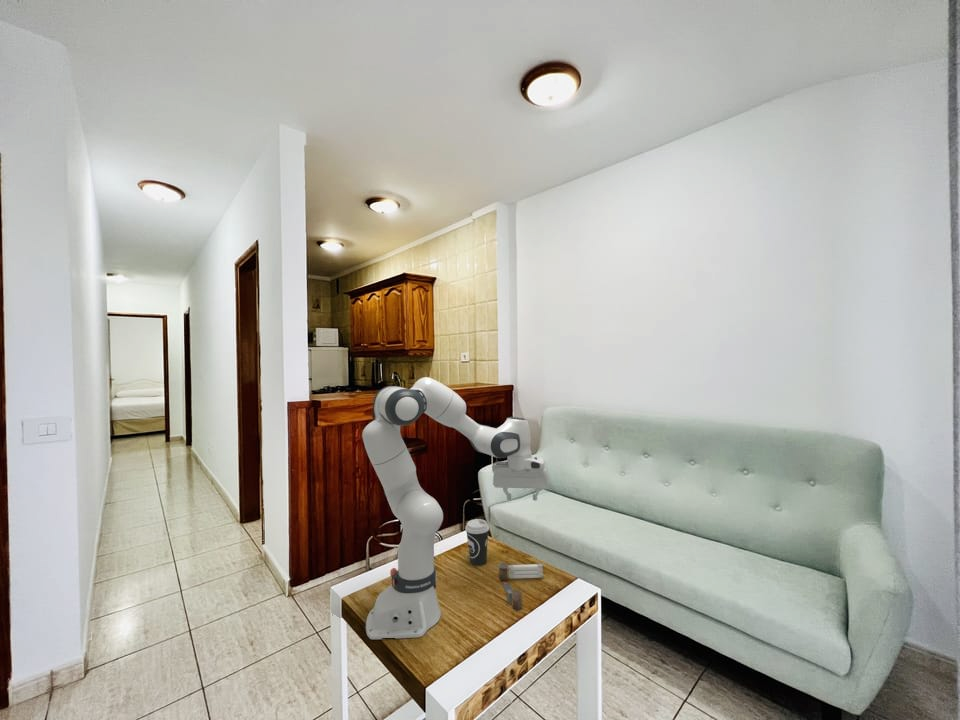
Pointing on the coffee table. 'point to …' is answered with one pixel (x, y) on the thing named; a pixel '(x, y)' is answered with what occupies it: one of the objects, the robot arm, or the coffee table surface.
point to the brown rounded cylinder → (515, 599)
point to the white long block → (526, 571)
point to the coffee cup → (477, 541)
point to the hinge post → (503, 572)
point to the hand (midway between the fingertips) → (522, 499)
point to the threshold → (508, 588)
